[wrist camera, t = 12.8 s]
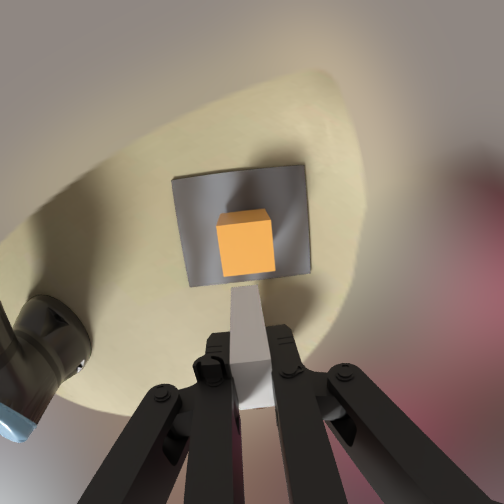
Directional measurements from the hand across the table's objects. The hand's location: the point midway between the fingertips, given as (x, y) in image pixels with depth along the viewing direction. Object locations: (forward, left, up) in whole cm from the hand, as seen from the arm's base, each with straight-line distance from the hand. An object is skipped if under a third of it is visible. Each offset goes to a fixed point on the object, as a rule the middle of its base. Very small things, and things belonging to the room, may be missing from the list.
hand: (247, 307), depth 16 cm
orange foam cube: (0, 0, -18) cm, 18 cm away
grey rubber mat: (0, 0, -20) cm, 20 cm away
